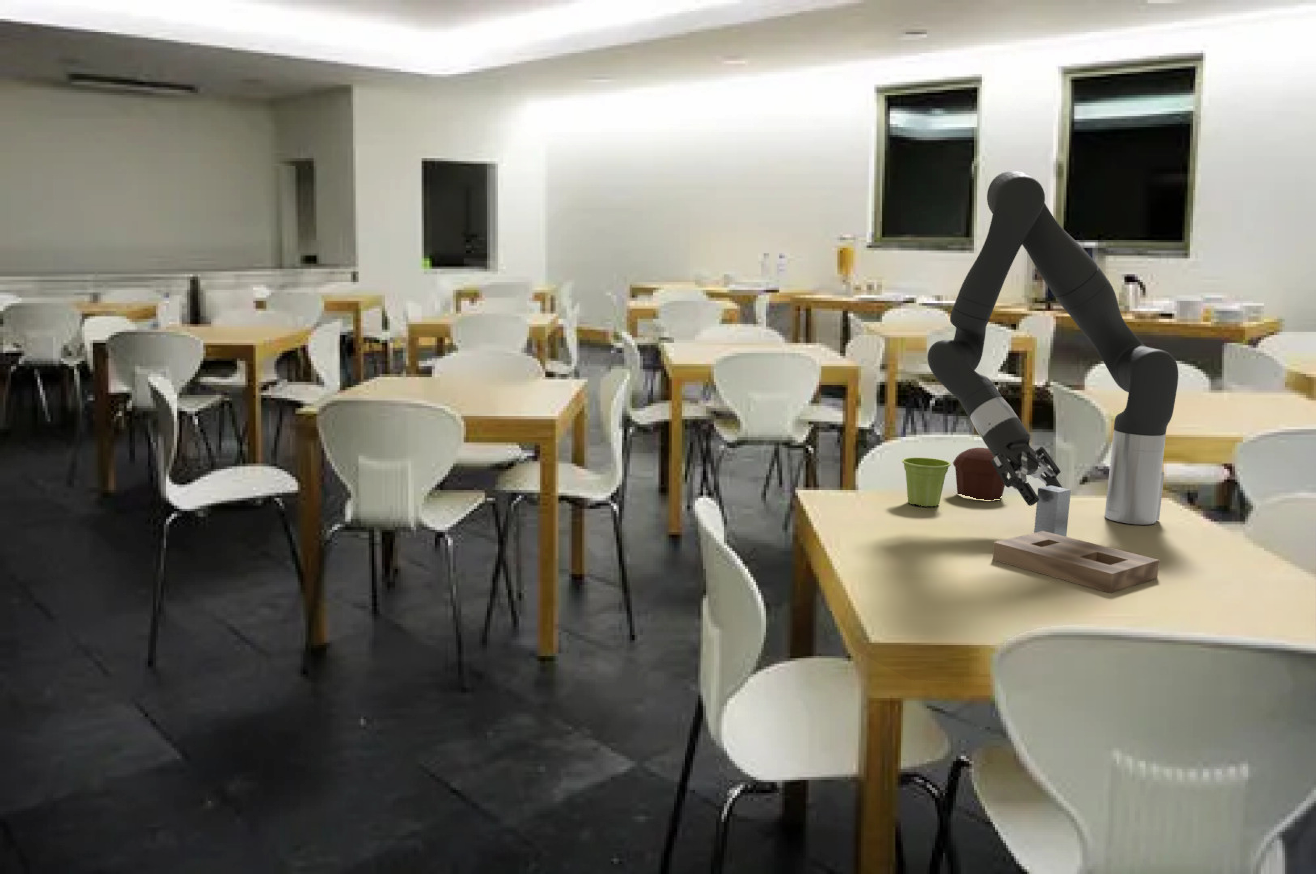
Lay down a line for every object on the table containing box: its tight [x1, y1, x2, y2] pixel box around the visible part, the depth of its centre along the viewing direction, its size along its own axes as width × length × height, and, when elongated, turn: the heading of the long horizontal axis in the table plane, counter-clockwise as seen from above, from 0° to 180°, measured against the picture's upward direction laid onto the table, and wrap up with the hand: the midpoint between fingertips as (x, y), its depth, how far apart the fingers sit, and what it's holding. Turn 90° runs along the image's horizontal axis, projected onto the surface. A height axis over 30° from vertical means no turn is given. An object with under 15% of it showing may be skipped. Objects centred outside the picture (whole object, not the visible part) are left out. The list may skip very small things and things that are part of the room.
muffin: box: [952, 447, 1009, 500], centre depth 236 cm, size 12×11×10 cm
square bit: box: [1033, 485, 1072, 537], centre depth 205 cm, size 4×4×9 cm
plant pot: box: [901, 457, 952, 507], centre depth 228 cm, size 9×9×9 cm
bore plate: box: [992, 531, 1160, 594], centre depth 186 cm, size 14×21×3 cm, turn 39°
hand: (1048, 500), depth 205 cm, fingers open, 8 cm apart
